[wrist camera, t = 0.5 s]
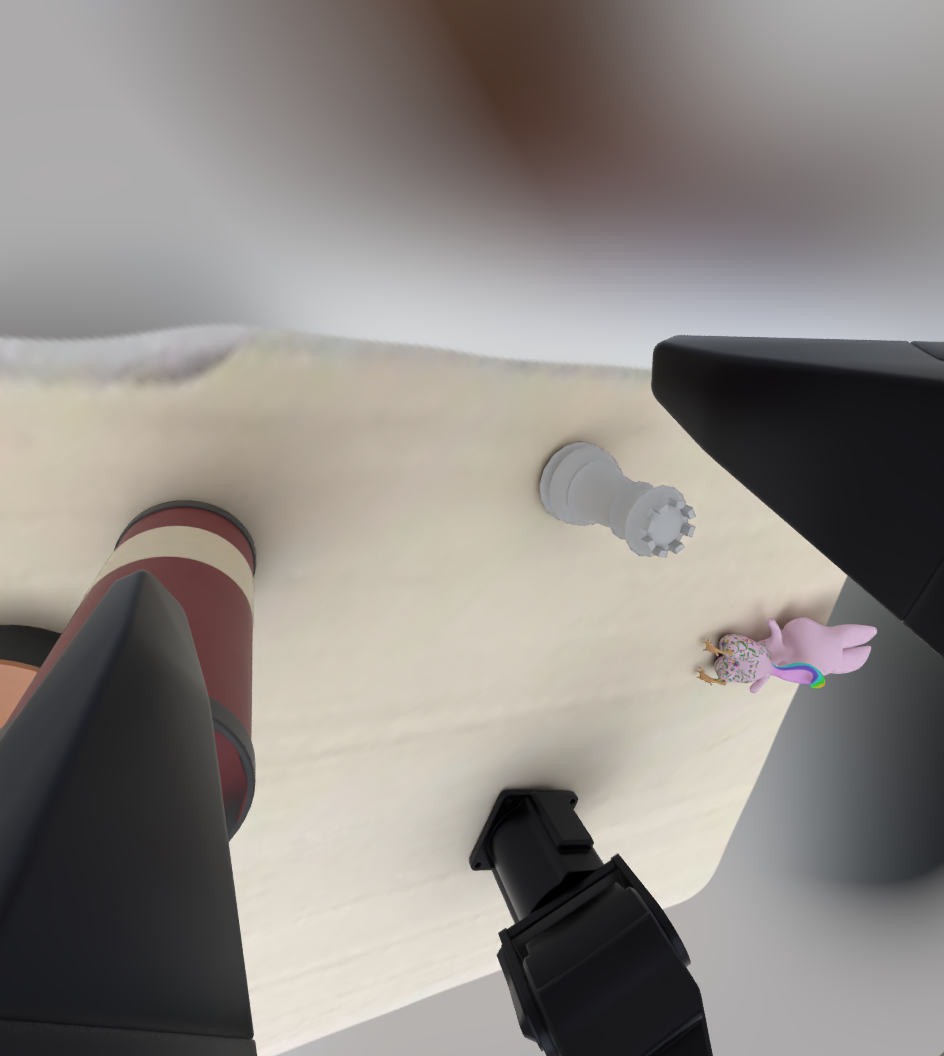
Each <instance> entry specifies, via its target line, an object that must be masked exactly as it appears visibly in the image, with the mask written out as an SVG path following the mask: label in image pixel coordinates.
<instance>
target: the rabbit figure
mask: <svg viewBox="0 0 944 1056" xmlns="http://www.w3.org/2000/svg"><path fill="white" fill-rule="evenodd" d="M767 625H768V626H769V627H770V628H771V636H770V638H768V639H765V640H760V641H757V642H755V641H753V640H752V639H750V638H747V637H745V636H741V635H737V634H728V635H725V636H724V637H722V639H721V640H720V642H719V648H720V650H719V649H717V648H715V647H714V646H712V645H711V642H709V640H707V639H705V640H707V641H708V642H705V641H703V640H701V641H702V642H704V643H706V649H704V650H703V651H706V650H707V651H710V652H712V653H715V654H716V655H717V656H719V655H718V653H723V656H721V657H719V658H718V659H717V660H716V662H715V665H714V667H715V671H716V673H717V675H718V677H719V678H718V679H713V678H710V677H709V676H707V675H706V674H705V673H704V671H703V669H702V668H701V667H699V668H700V669H701V672H700V671H697V670H696V672H699V673H700V677H697V678H700V679H701V680H704V681H705V682H708V683H710V686H712V683H711V682H713V683H719V684H721V685H726V684H727V682H740V683H750V682H754V681H756V680H757V681H756V682H755V683H753V684H752V685H751V686H750V692H752V693H756V692H757V691H758V690H759V689H760V688H761V687H762V686H763V685H764V683H765V682H766V681H767V680H768V678H769V677H770V675H772V676H776V677H779V678H781V679H784V680H787V681H791V682H795V683H800V684H805V685H809V686H810V687H812V688H821V687H823V686H824V685H825V679H824V677H823V676H824V675H827V674H829V673H835V674H842V673H848V672H851V671H854V670H857V669H858V668H860V667H861V666H862V665H863V664H864V663H865V661H866V660H867V658H868V655H869V653H870V650H871V647H870V646H865V647H856V648H849V647H853V646H857V645H860V644H863V643H866V642H868V641H869V640H870V639H872V637H874V636H875V634H876V633H877V630H876V628H874V627H871V626H863V625H854V624H847V625H838V626H833V627H826V626H823V625H821V624H819V623H817V622H815V621H813V620H811V619H809V618H806V617H801V618H797V619H794V620H792V621H790V622H788V623H787V624H786V625H785V627H784V629H783V630H780V628H779V626H778V625H777V623H776V622H775V620H773V619H768V620H767Z"/></svg>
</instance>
